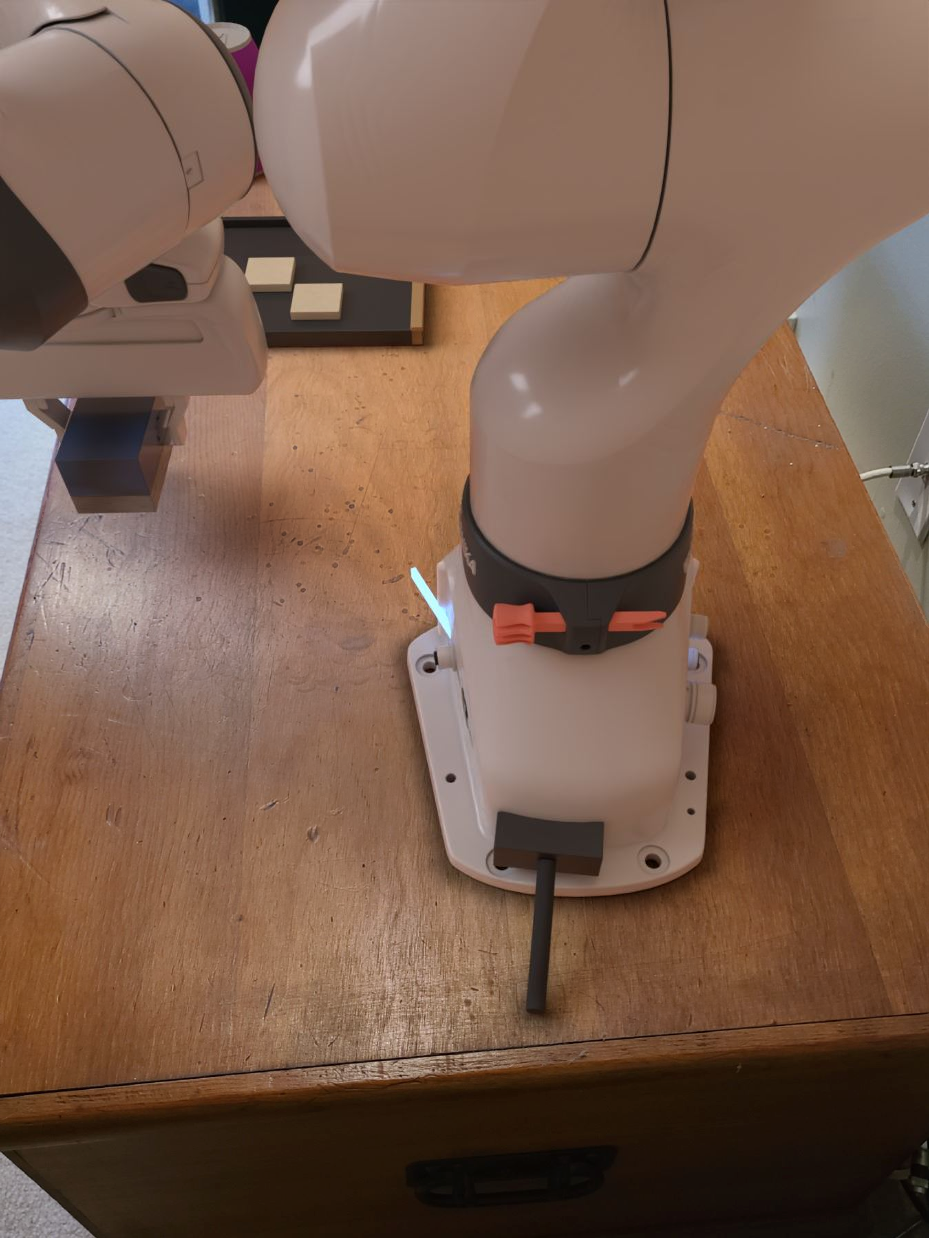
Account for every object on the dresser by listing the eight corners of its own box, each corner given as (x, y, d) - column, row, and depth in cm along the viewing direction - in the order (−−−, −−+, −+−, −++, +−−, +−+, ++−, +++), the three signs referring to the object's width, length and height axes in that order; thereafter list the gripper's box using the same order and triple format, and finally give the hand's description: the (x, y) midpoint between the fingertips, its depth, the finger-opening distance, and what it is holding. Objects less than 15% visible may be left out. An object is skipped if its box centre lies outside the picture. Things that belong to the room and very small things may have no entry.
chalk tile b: (291, 292, 83) (290, 283, 83) (244, 292, 83) (242, 284, 83) (296, 265, 86) (294, 257, 85) (250, 265, 86) (248, 257, 85)
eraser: (182, 411, 69) (166, 357, 65) (156, 512, 62) (137, 458, 59) (110, 413, 69) (91, 359, 65) (77, 514, 62) (53, 460, 59)
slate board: (423, 345, 81) (422, 326, 80) (156, 348, 81) (150, 330, 80) (425, 269, 88) (424, 251, 86) (179, 272, 88) (174, 254, 86)
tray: (409, 269, 88) (409, 258, 87) (195, 271, 88) (192, 260, 87) (412, 225, 92) (411, 214, 92) (207, 227, 92) (204, 216, 92)
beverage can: (209, 146, 102) (182, 19, 93) (283, 145, 102) (263, 18, 92) (196, 184, 97) (166, 54, 88) (273, 184, 97) (252, 54, 88)
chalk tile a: (340, 319, 81) (339, 311, 80) (291, 320, 81) (290, 312, 80) (343, 291, 83) (342, 283, 83) (296, 292, 83) (294, 283, 83)
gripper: (-157, 280, 52) (-48, 476, 62) (233, 273, 52) (275, 470, 62) (-114, 218, 56) (-19, 412, 66) (248, 211, 56) (285, 406, 66)
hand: (126, 440), depth 64 cm, fingers closed on eraser, 5 cm apart
